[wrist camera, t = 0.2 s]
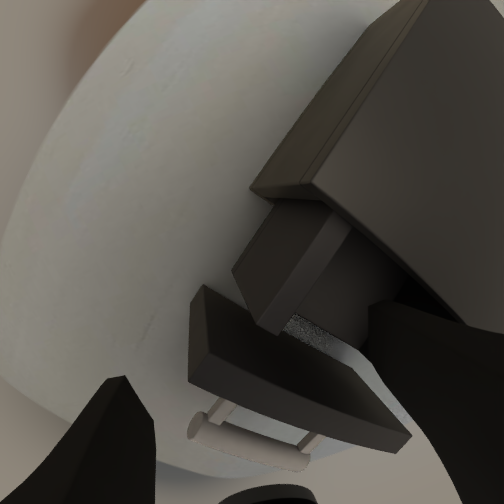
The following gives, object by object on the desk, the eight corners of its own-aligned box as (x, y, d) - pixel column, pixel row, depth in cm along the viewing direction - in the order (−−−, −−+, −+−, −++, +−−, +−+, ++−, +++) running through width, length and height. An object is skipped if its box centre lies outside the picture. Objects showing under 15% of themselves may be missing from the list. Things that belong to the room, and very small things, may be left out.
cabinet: (397, 300, 18) (496, 357, 10) (248, 188, 15) (309, 182, 7) (478, 142, 17) (570, 136, 9) (369, 24, 14) (453, -38, 6)
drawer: (300, 428, 17) (337, 506, 11) (151, 363, 15) (132, 456, 8) (448, 215, 17) (533, 229, 10) (330, 98, 14) (409, 50, 7)
